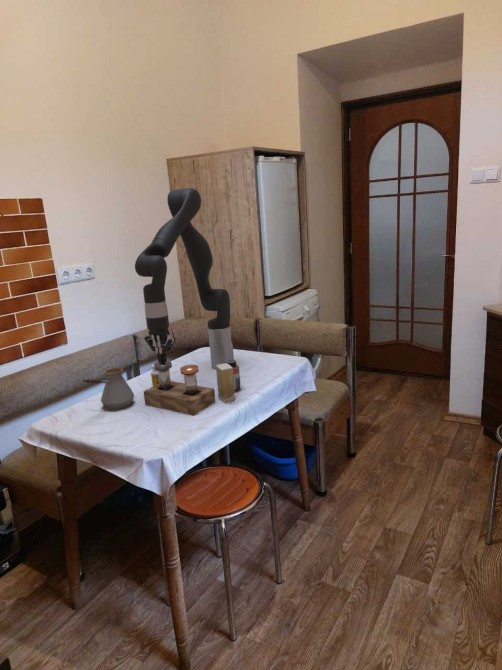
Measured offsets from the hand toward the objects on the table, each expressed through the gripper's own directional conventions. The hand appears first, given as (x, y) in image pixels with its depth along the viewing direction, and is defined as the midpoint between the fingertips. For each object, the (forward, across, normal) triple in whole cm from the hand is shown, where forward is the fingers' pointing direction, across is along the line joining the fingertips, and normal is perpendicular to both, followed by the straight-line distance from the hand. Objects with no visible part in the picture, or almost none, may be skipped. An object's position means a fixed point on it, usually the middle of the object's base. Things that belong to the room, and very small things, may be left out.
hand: (162, 363), depth 166 cm
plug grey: (+10, 0, 0) cm, 10 cm away
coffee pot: (+14, +13, +15) cm, 24 cm away
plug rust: (+10, -12, 0) cm, 15 cm away
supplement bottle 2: (+14, -16, -18) cm, 28 cm away
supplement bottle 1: (+14, +11, -8) cm, 20 cm away
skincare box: (+14, -19, -10) cm, 26 cm away
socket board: (+14, -6, 0) cm, 15 cm away
